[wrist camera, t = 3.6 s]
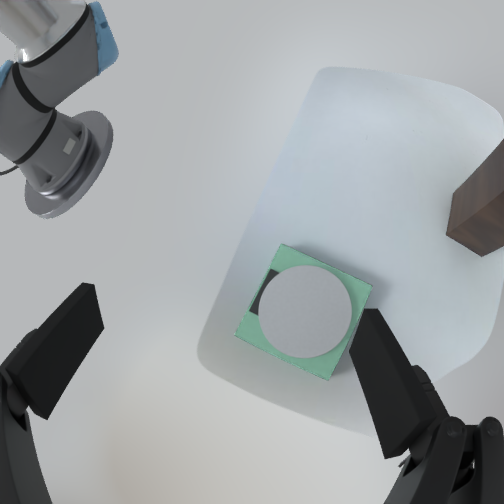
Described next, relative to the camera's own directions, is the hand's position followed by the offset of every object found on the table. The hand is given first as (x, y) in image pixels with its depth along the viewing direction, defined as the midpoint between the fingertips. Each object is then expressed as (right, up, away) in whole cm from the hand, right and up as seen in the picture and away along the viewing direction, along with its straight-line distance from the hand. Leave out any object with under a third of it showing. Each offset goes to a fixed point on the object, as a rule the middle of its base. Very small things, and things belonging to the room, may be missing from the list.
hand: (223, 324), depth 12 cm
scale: (+7, -3, +17) cm, 19 cm away
